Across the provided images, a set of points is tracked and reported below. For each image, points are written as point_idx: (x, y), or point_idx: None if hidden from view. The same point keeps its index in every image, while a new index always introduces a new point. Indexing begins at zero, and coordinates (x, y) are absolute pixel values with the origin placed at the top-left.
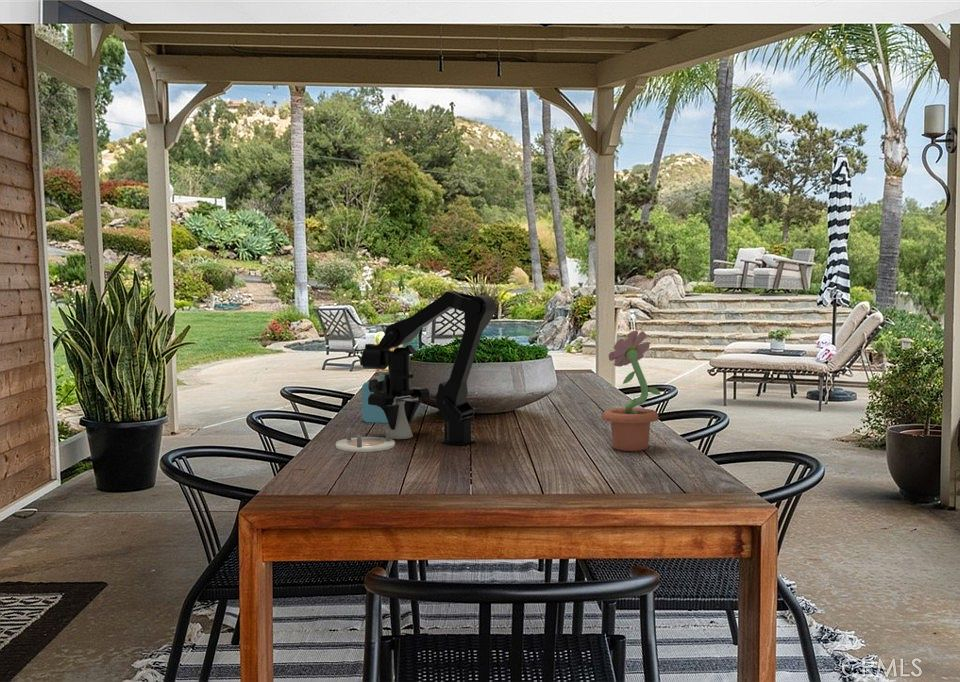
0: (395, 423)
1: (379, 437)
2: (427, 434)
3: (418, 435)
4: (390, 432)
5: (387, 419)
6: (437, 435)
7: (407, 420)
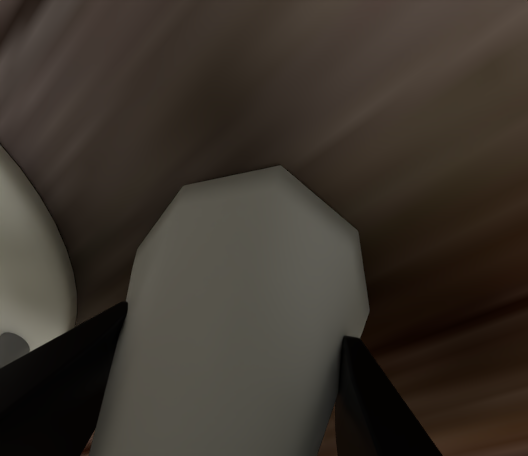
0: (97, 405)
1: (23, 243)
2: (479, 375)
3: (409, 342)
4: (131, 284)
5: (1, 373)
6: (462, 433)
7: (341, 429)
